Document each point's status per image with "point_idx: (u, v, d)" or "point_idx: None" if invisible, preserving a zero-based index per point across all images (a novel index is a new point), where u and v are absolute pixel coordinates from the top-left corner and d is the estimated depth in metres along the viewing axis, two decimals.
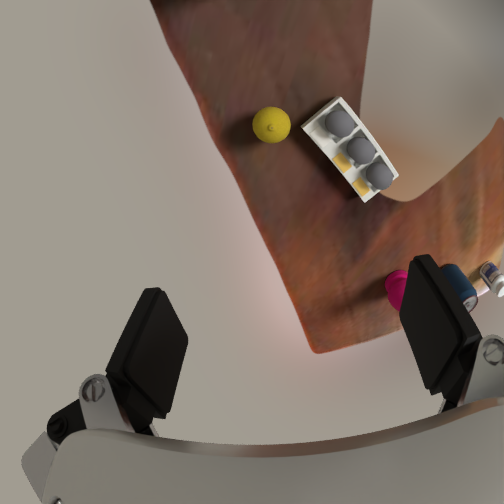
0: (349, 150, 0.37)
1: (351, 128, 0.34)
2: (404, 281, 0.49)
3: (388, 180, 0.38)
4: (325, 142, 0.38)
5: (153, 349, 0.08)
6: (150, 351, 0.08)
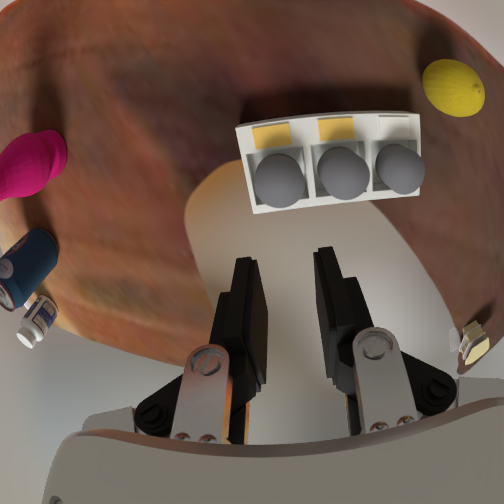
0: (358, 155, 0.19)
1: (392, 183, 0.20)
2: (45, 169, 0.21)
3: (267, 195, 0.21)
4: (383, 127, 0.19)
5: (257, 316, 0.09)
6: (256, 317, 0.08)
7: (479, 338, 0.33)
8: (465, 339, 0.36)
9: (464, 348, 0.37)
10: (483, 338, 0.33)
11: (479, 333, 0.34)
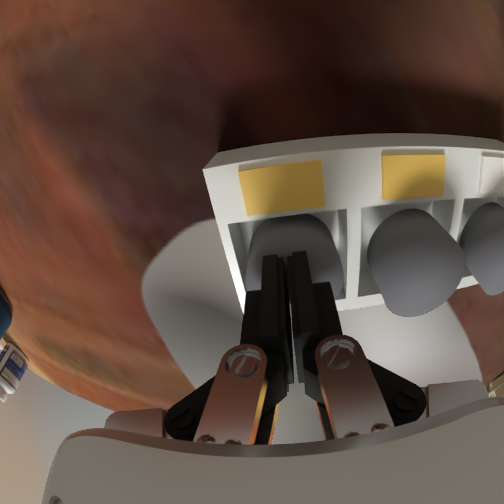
0: (450, 235, 0.09)
1: (488, 281, 0.09)
2: None
3: None
4: (486, 175, 0.08)
5: (287, 314, 0.08)
6: (287, 315, 0.08)
7: None
8: (491, 394, 0.25)
9: None
10: None
11: None
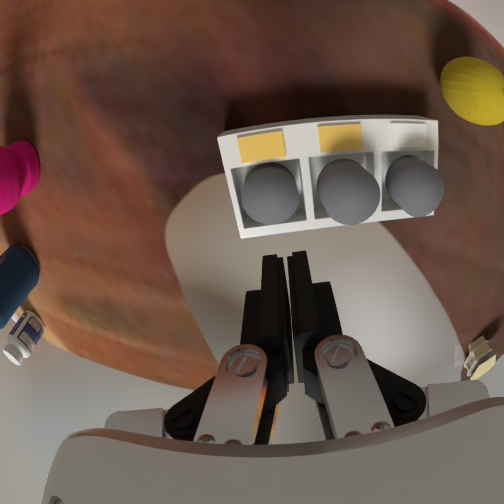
0: (366, 170, 0.16)
1: (406, 204, 0.16)
2: (15, 186, 0.17)
3: (256, 210, 0.19)
4: (396, 135, 0.16)
5: (287, 314, 0.08)
6: (287, 315, 0.08)
7: (486, 355, 0.30)
8: (471, 355, 0.33)
9: (469, 364, 0.33)
10: (490, 354, 0.30)
11: (486, 349, 0.30)
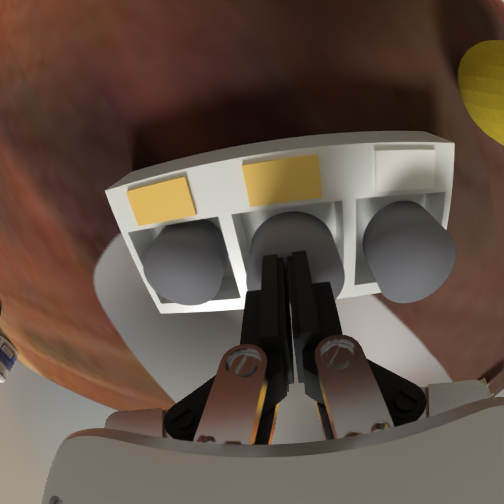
0: (323, 237, 0.10)
1: (389, 288, 0.10)
2: None
3: (166, 288, 0.13)
4: (384, 171, 0.10)
5: (287, 314, 0.08)
6: (287, 315, 0.08)
7: None
8: None
9: None
10: None
11: None
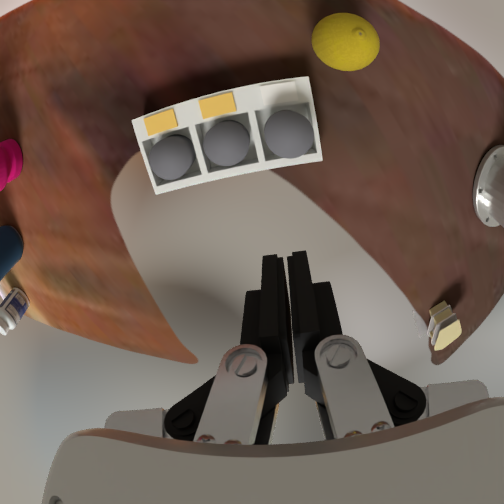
0: (237, 123, 0.22)
1: (275, 147, 0.21)
2: (3, 172, 0.21)
3: (161, 169, 0.23)
4: (266, 95, 0.20)
5: (287, 314, 0.08)
6: (287, 315, 0.08)
7: (448, 320, 0.34)
8: (433, 321, 0.37)
9: (433, 332, 0.38)
10: (453, 320, 0.34)
11: (448, 314, 0.35)
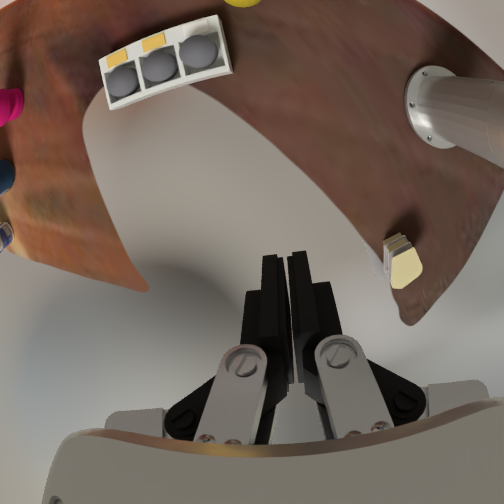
0: None
1: (186, 60, 0.23)
2: (8, 108, 0.24)
3: (113, 89, 0.26)
4: (186, 31, 0.22)
5: (287, 314, 0.08)
6: (287, 315, 0.08)
7: (403, 249, 0.36)
8: (387, 254, 0.39)
9: None
10: None
11: (403, 244, 0.36)
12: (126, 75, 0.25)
